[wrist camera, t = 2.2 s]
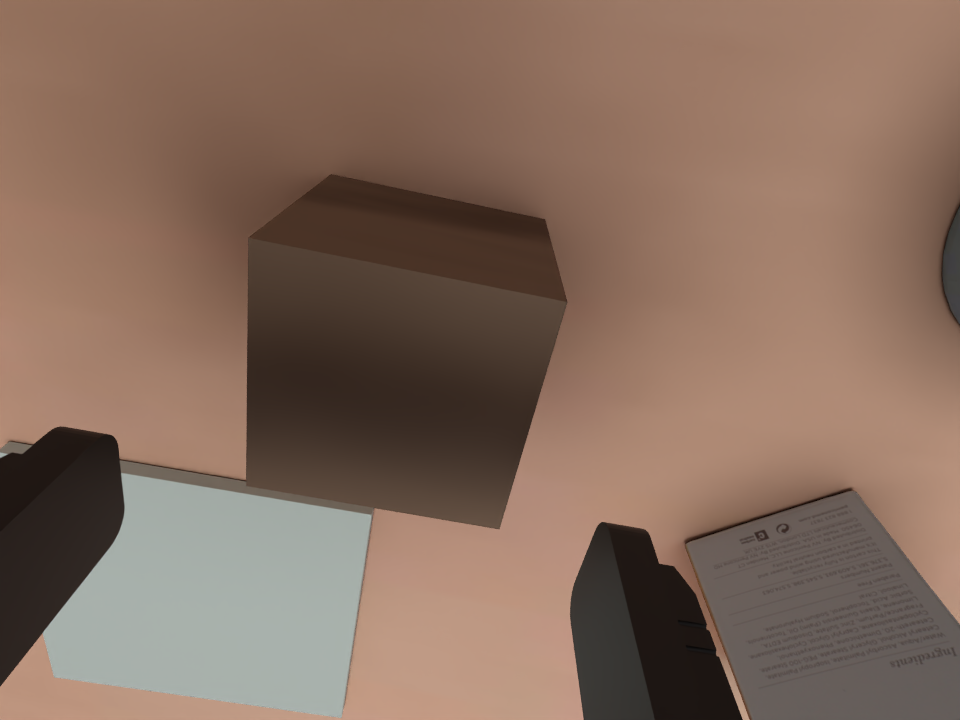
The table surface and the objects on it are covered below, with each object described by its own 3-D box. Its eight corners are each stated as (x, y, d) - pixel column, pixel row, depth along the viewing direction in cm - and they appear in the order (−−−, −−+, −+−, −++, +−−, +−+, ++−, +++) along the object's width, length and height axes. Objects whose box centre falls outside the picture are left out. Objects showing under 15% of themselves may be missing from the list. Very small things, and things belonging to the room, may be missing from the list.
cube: (331, 173, 16) (247, 237, 10) (544, 218, 16) (566, 302, 11) (317, 361, 19) (245, 486, 13) (499, 395, 19) (499, 529, 14)
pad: (9, 441, 20) (-4, 452, 20) (375, 503, 21) (371, 514, 21) (62, 664, 27) (54, 677, 26) (344, 705, 27) (341, 717, 27)
